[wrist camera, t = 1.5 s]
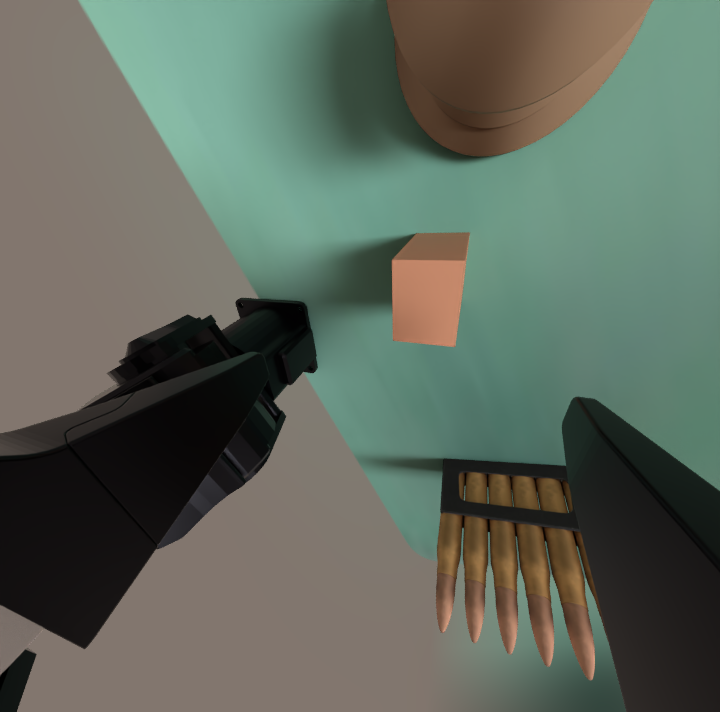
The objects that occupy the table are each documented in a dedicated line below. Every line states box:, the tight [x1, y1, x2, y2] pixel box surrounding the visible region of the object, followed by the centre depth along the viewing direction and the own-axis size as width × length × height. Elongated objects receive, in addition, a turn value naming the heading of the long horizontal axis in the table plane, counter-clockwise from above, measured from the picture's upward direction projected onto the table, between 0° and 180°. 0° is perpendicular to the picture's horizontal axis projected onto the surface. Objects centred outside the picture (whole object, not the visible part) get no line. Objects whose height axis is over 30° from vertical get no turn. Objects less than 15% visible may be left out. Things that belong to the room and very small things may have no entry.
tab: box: [392, 233, 470, 347], centre depth 15 cm, size 3×4×6 cm
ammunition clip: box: [436, 459, 609, 680], centre depth 20 cm, size 11×2×12 cm, turn 108°
